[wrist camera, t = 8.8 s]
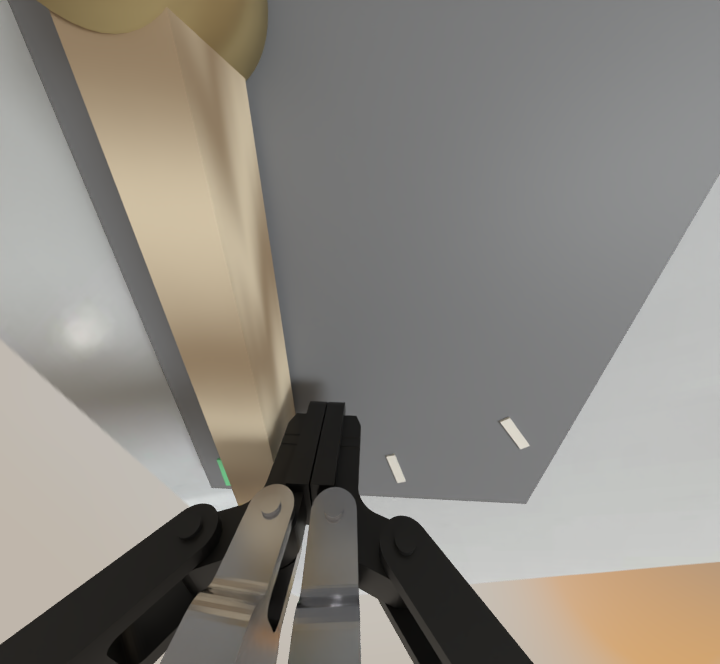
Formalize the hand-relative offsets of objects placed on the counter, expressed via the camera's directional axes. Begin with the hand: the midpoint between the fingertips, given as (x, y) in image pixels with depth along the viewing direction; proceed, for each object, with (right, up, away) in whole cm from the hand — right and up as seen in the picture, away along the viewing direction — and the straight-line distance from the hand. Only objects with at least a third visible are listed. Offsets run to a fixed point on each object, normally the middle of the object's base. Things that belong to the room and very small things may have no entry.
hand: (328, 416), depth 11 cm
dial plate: (+2, +5, +1) cm, 5 cm away
